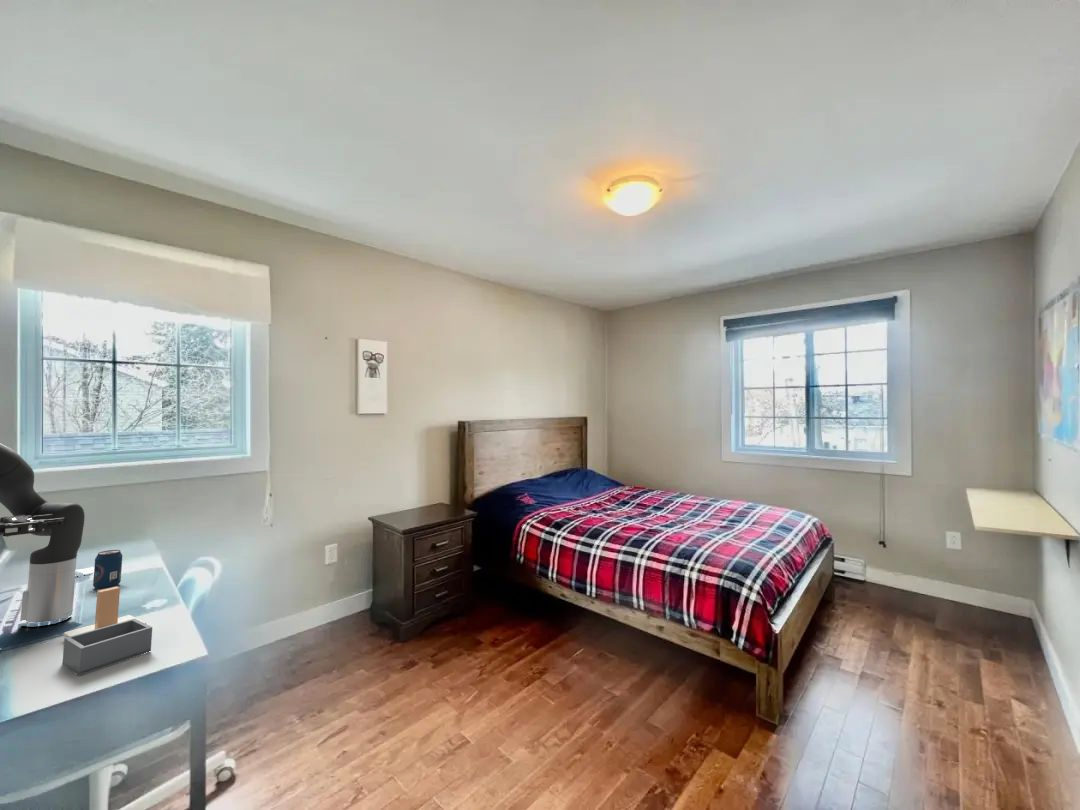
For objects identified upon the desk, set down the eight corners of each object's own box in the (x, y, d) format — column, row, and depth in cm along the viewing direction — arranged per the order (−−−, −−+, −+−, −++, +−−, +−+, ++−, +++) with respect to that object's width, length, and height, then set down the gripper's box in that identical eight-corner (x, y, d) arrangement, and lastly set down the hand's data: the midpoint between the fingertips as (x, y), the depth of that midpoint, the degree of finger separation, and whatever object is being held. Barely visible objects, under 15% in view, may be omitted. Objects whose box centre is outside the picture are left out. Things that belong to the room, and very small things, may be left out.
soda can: (88, 588, 155) (90, 553, 155) (113, 582, 161) (115, 548, 162) (99, 591, 152) (102, 555, 153) (124, 585, 158) (127, 550, 159)
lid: (78, 651, 112) (82, 600, 113) (63, 641, 117) (66, 593, 118) (145, 630, 124) (148, 585, 125) (128, 622, 129) (131, 579, 130)
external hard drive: (55, 577, 167) (100, 569, 177) (61, 582, 162) (108, 573, 173) (55, 573, 167) (100, 565, 177) (62, 577, 162) (108, 568, 173)
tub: (78, 676, 101) (81, 648, 101) (62, 664, 106) (64, 638, 106) (150, 651, 112) (152, 627, 113) (132, 642, 117) (134, 618, 117)
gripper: (-35, 518, 96) (71, 507, 110) (-51, 511, 103) (50, 502, 117) (-38, 554, 96) (69, 539, 110) (-55, 545, 103) (48, 531, 117)
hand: (59, 520), depth 114 cm, fingers open, 8 cm apart
